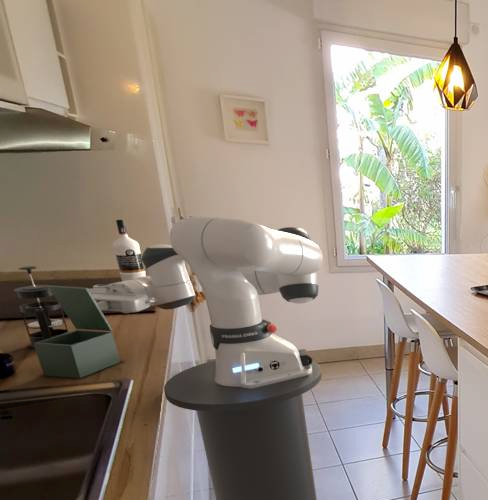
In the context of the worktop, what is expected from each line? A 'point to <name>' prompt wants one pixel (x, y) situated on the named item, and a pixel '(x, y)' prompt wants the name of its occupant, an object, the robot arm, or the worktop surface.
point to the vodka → (128, 255)
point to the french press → (40, 310)
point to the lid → (81, 308)
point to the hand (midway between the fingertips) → (84, 308)
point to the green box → (77, 353)
